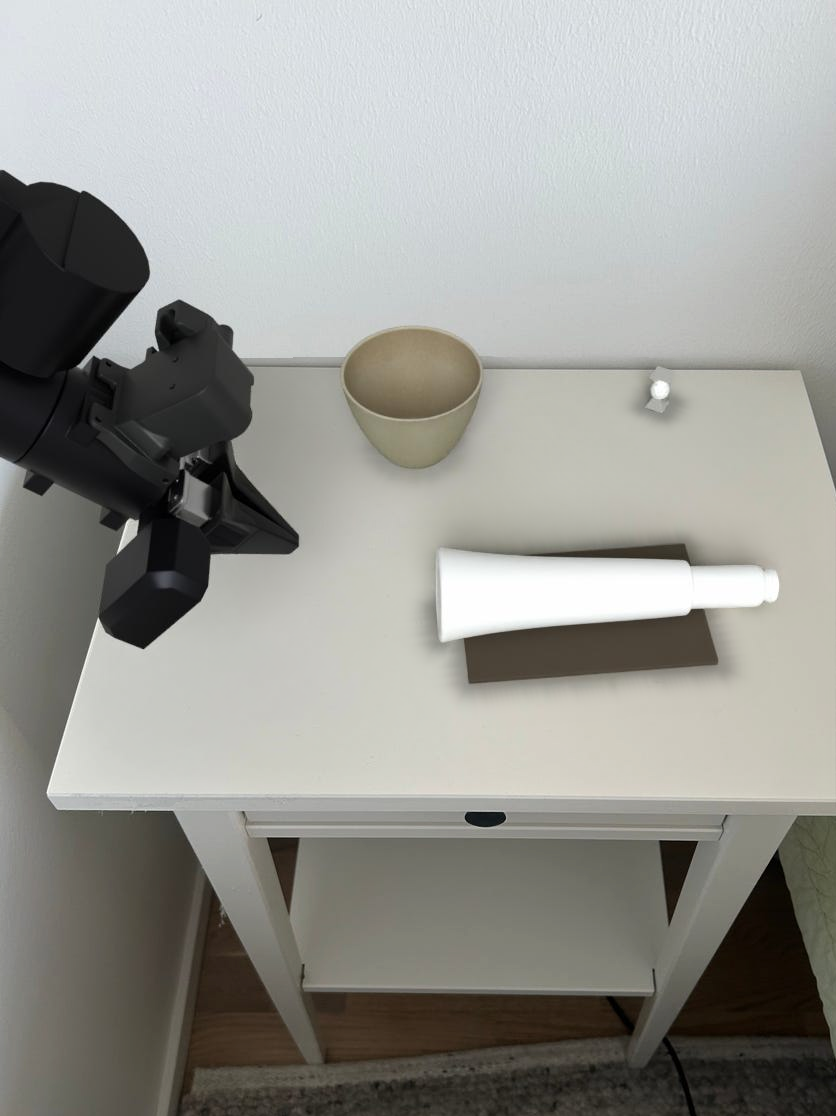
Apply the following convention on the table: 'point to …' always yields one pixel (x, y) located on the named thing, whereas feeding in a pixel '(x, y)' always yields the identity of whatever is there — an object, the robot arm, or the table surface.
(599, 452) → the table surface
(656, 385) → the wrapped candy
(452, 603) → the cosmetic bottle
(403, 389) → the bowl
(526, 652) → the mat
